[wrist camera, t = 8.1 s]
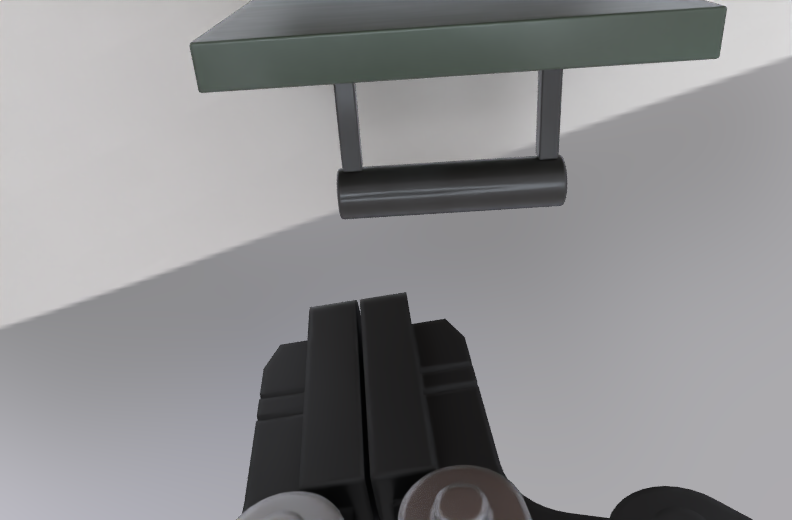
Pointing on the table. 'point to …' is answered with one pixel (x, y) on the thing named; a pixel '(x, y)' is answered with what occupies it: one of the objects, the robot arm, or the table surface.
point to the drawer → (442, 57)
